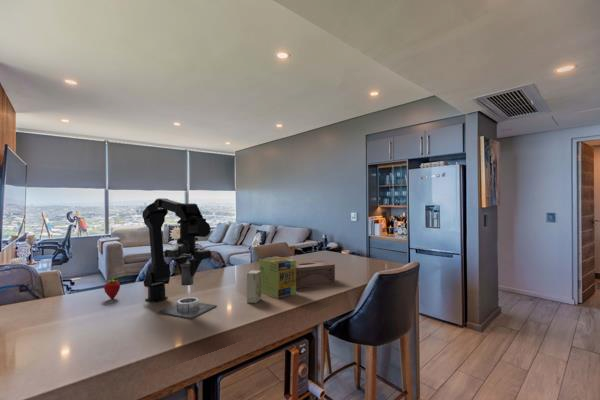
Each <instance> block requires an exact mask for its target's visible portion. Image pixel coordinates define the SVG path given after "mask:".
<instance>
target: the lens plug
mask: <svg viewBox="0 0 600 400" xmlns="http://www.w3.org/2000/svg"><path fill="white" fill-rule="evenodd" d="M180 266H181V273H180V277H181V279H180V281H181V282H180V283H181V284H180V285H181V286H186V287H187V286H192V285H194V277H195V275H194V276H193V277H191V267H190V262H189V261H187V262H184V263H181V264H180Z"/></svg>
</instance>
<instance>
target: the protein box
mask: <svg viewBox="0 0 600 400" xmlns="http://www.w3.org/2000/svg"><path fill="white" fill-rule="evenodd" d="M296 262H297V260H296V259H291V258H287V257H281V256H271V257H270V256H269V257H261V258H259V259H258V271H261V294H262V293H263V294H265V295H268V296H270V297H273V298H275V299H278V300H279V299H283V298H286V297H290V296H295V295H297V288H296Z"/></svg>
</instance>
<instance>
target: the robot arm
mask: <svg viewBox="0 0 600 400" xmlns="http://www.w3.org/2000/svg"><path fill="white" fill-rule="evenodd" d="M169 212H171V213H175V216H176V217H178V218H179V220H178V221H177V222H176V223H177V224H179V238H177V240H176V243H175V244H173V245H171V246H170V247H167V248H166V249H165V251H164V245H163V243H164V242H163V232H162V227H163V225H164V223H165V221H166V220H165V219H166V215H168V214H169ZM141 216H142V218H143V224H145V226H146V227H147V228H148V233H149V235H148V236H149V244H150V245H149V246H150V256H151V257H150V258H151V263H150V265H149V266H148V269H147V275H146V277H144V280H143V286H144V287H146V288H148V289H147V290H148V291H147V297H148V298H145V299H144V301H146V302H153V303H157V302H160V301H164V300H166V299H168V298H169V297H168V296H167V295H166V286H165V285H167V284H168V285H169V284H170V279H171V265H170V263H167V262H166V260H165V258H170V260H173V261H174V262H175V263H176V265H177V268H178V270H179V273H180V274H181V266H180V264H181V263H184V262H190V267H191V277H193V276H194V277H195V274H196V272H197V271H198V268H199V266H200V264H201V263H202V261H203V260H206V259H211V258H212V251H211V250H210V249H209V250H208V249H202V250H199V248H198V247H196V245H197V244H196V243H197V242H196V241H198V240H199V238H205V237H208V236H209V235H210V233H211V225H210V224H209V223H208V222H207V219H206V218H204V217H203V214H202V212H201V210H200V209H199V207H198V204H197V203H187V202H186V203H181V202H178V201H174V200H171V199H168V198H156V199H155V200H154V201H153V202H152V203H150V204H148V205H147V206H146V207H145V208H144V210H143V211H142V215H141ZM188 257H191V259H188Z"/></svg>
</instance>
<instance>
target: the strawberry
mask: <svg viewBox="0 0 600 400" xmlns="http://www.w3.org/2000/svg"><path fill="white" fill-rule="evenodd" d="M110 277H111V280H105V281H104V282H105V284H104V287H103V289H104V292H105V295H107V297H108V298H110V299H111V300H114V299H115V298H116V296H117V295H118V294H119V291H120V288H121V284H120V282H119V279H114V278H112V276H110Z"/></svg>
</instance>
